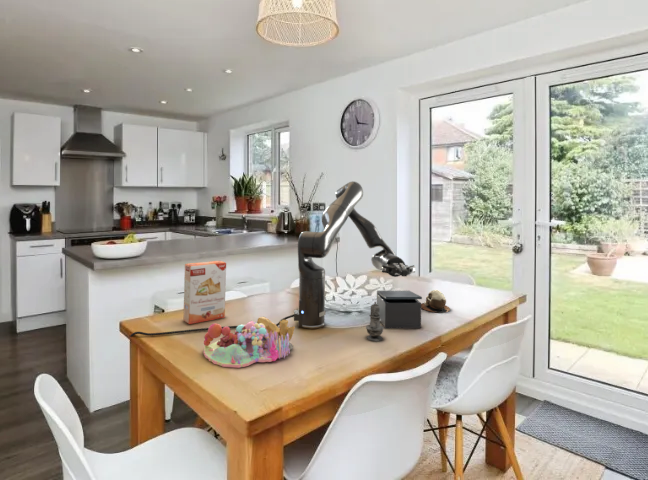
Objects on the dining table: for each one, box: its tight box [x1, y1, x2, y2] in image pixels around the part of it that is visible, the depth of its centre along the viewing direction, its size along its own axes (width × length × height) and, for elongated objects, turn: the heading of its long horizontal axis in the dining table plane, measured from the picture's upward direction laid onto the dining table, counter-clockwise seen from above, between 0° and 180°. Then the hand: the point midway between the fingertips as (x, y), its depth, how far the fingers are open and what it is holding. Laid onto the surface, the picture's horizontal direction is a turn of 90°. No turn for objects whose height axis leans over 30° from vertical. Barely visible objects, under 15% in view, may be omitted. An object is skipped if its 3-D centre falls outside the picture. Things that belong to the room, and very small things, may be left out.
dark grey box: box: [376, 292, 422, 329], centre depth 152 cm, size 15×13×9 cm
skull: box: [421, 289, 451, 314], centre depth 170 cm, size 12×10×10 cm
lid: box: [376, 290, 423, 300], centre depth 151 cm, size 16×13×1 cm
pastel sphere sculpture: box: [203, 316, 296, 369], centre depth 122 cm, size 25×24×9 cm
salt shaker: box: [365, 301, 385, 342], centre depth 134 cm, size 6×6×12 cm
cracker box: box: [182, 260, 227, 325], centre depth 151 cm, size 14×6×21 cm, turn 129°
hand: (404, 273), depth 143 cm, fingers closed
